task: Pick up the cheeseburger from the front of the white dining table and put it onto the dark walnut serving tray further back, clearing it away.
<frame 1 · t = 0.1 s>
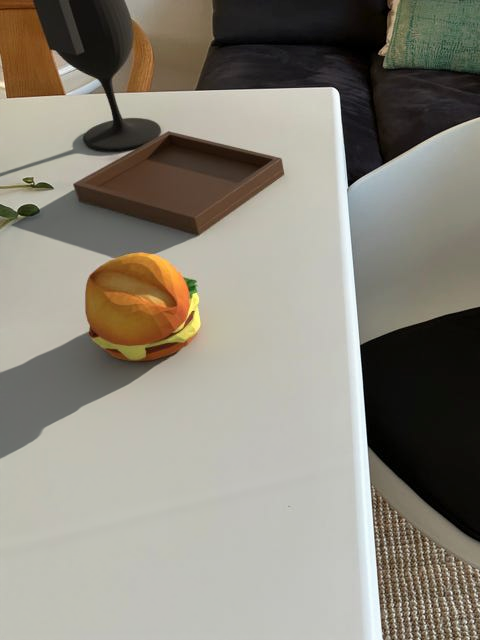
wine glass: (123, 137, 109), on the table
cheeseburger: (155, 340, 75), on the table
tray: (184, 187, 98), on the table
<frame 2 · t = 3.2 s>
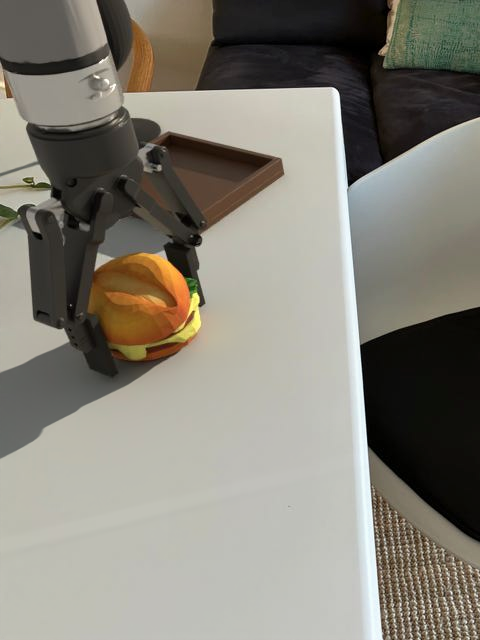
hand: (150, 334, 75), 1 cm above the table, tool pointing down, fingers closed on cheeseburger, 11 cm apart
cheeseburger: (155, 339, 75), on the table, touching gripper
everything else where it was.
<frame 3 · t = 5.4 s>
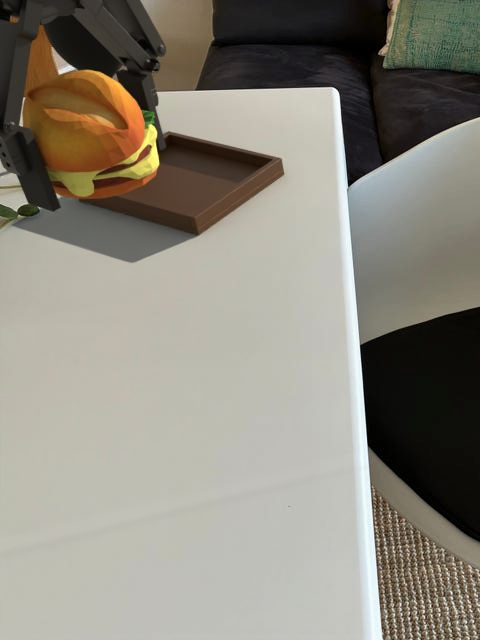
hand: (101, 174, 65), 17 cm above the table, tool pointing down, fingers closed on cheeseburger, 11 cm apart
cheeseburger: (107, 182, 66), point 16 cm above the table, touching gripper
everything else where it was.
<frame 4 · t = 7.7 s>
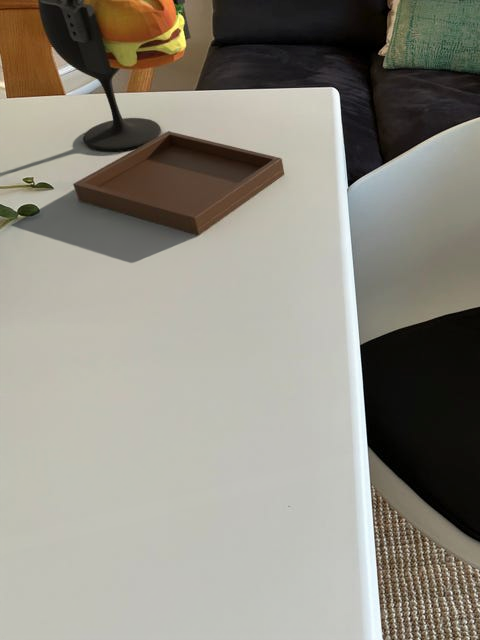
hand: (141, 53, 84), 18 cm above the table, tool pointing down, fingers closed on cheeseburger, 11 cm apart
cheeseburger: (145, 60, 85), point 17 cm above the table, touching gripper
everything else where it was.
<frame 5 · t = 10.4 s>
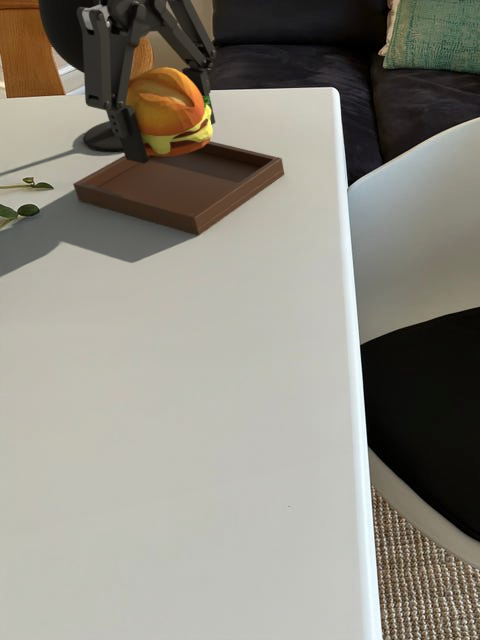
hand: (172, 140, 94), 6 cm above the table, tool pointing down, fingers closed on cheeseburger, 11 cm apart
cheeseburger: (176, 146, 95), point 5 cm above the table, touching gripper
everything else where it was.
when the fingers open (1 cm above the table, at t = 12.2 s): cheeseburger stays where it is, resting on tray.
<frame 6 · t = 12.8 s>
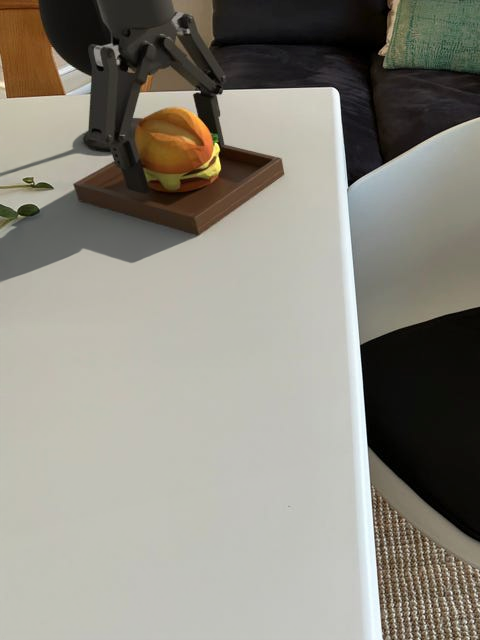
hand: (178, 166, 96), 3 cm above the table, tool pointing down, fingers open, 13 cm apart
cheeseburger: (185, 181, 98), point 1 cm above the table, touching tray
everything else where it was.
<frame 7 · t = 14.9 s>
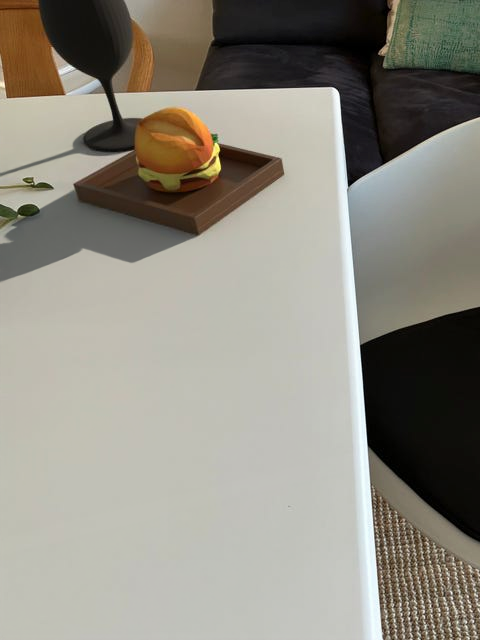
nothing on the table moved.
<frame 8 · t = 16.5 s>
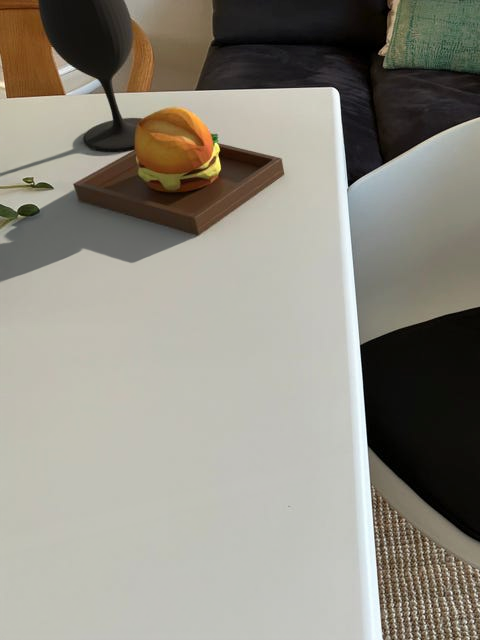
nothing on the table moved.
at the end: cheeseburger inside the target area on the tray (0.4 cm from its centre), point 0.6 cm above the tray's base; cheeseburger tilted 0°; the gripper is holding nothing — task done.
